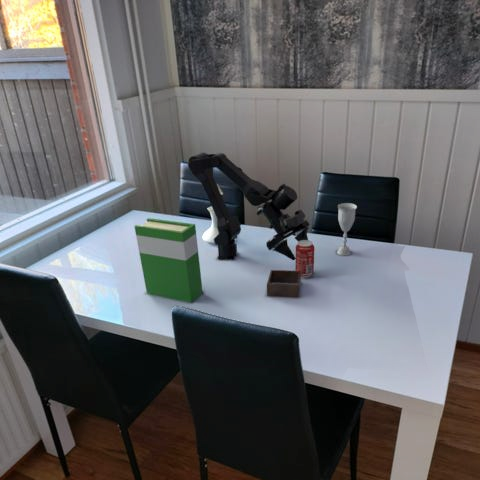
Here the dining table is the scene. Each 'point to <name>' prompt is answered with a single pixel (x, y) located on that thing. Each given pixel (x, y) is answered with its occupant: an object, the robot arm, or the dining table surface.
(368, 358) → the dining table surface
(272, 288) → the crate
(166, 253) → the hardback book
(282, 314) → the dining table surface
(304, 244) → the beverage can
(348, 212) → the chalice
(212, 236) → the flower in vase
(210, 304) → the dining table surface
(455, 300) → the dining table surface
